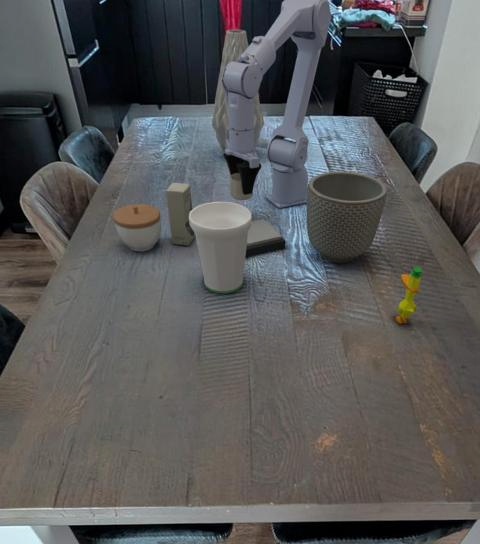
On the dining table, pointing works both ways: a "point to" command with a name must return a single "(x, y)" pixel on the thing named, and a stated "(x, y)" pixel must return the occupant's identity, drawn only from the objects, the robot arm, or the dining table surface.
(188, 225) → the box
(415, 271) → the toy figure
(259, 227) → the scale
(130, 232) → the trinket box
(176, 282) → the dining table surface
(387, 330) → the dining table surface
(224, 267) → the cup
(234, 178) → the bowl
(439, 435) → the dining table surface
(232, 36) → the vase
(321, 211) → the planter
